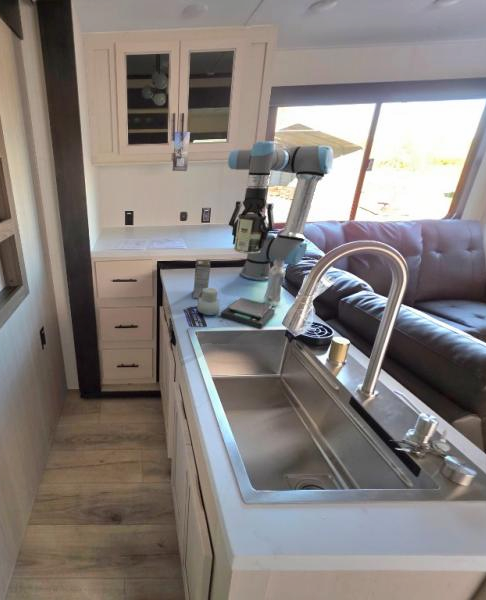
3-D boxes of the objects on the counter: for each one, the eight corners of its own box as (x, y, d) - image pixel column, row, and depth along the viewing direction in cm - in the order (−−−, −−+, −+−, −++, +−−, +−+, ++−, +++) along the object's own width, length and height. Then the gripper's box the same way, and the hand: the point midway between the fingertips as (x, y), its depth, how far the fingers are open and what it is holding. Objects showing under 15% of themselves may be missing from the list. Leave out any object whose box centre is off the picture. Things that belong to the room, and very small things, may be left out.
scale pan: (240, 299, 136) (240, 297, 136) (271, 307, 128) (271, 305, 128) (228, 309, 127) (228, 307, 126) (260, 318, 119) (261, 316, 119)
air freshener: (219, 318, 125) (222, 295, 121) (197, 317, 126) (200, 294, 122) (216, 307, 135) (219, 285, 131) (196, 306, 136) (198, 284, 132)
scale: (236, 303, 138) (236, 298, 137) (274, 314, 129) (275, 308, 128) (220, 316, 127) (221, 311, 126) (261, 328, 117) (262, 323, 116)
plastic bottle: (272, 308, 133) (281, 263, 125) (259, 303, 139) (267, 259, 131) (282, 305, 136) (292, 261, 128) (269, 300, 141) (277, 257, 133)
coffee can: (259, 248, 131) (266, 214, 125) (260, 254, 122) (267, 217, 116) (234, 246, 134) (238, 212, 128) (232, 252, 125) (237, 216, 119)
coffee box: (193, 291, 152) (196, 258, 145) (206, 291, 151) (210, 259, 144) (192, 298, 143) (195, 264, 137) (207, 299, 142) (210, 265, 136)
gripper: (224, 186, 122) (217, 243, 131) (285, 189, 109) (273, 252, 117) (232, 185, 127) (225, 240, 136) (291, 188, 114) (279, 248, 123)
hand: (247, 245), depth 127 cm, fingers closed on coffee can, 10 cm apart
